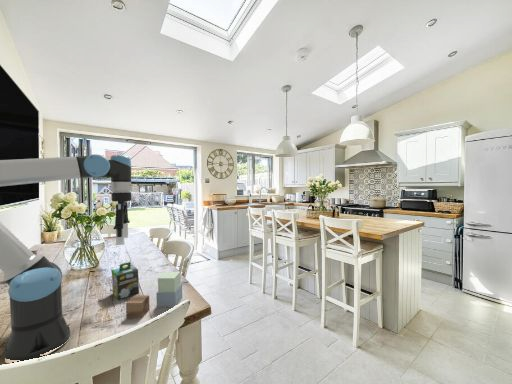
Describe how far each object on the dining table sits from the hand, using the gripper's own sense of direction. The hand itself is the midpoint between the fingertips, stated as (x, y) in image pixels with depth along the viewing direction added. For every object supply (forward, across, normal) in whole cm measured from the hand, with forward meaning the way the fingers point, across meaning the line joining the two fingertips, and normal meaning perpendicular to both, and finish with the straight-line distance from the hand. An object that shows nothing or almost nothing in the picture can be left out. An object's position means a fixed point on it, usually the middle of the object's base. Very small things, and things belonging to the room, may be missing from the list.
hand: (122, 241), depth 98 cm
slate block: (+27, -8, -19) cm, 34 cm away
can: (+28, +55, +53) cm, 81 cm away
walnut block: (+27, -13, -7) cm, 30 cm away
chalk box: (+27, +9, 0) cm, 28 cm away
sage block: (+21, -8, -19) cm, 29 cm away
